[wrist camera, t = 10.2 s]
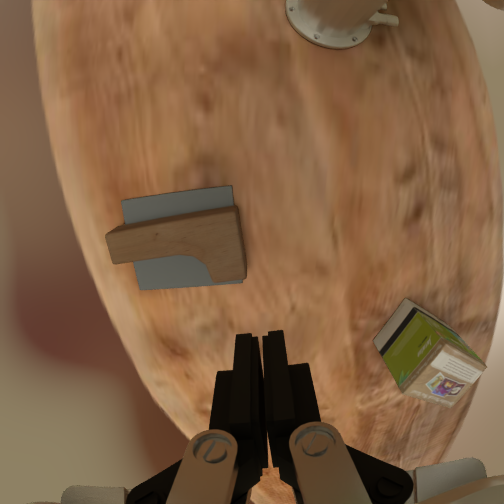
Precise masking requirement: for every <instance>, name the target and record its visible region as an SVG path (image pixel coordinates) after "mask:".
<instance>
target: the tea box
mask: <svg viewBox="0 0 504 504" xmlns="http://www.w3.org/2000/svg"><path fill="white" fill-rule="evenodd" d="M373 342H374V344H375V346H376V347H377V349H378V351H379V353H380V354H381V356H382V358H383V360H384V361H385V363H386V365H387V367H388V369H389V370H390V372H391V374H392V376H393V377H394V379H395V381H396V383H397V385H398V387H399V389H400V390H401V392H402V394H403V395H407V396H410V397H413V398H417V399H420V400H424V401H427V402H431V403H434V404H438V405H441V406H445V407H449V408H452V407H453V405H454V404H455V403H456V402H457V401H458V400H459V399H460V398H461V397H462V396H463V395H464V393H465V392H466V391H467V390H468V389H469V388H470V387H471V385H472V384H473V383H474V382H475V381H476V380H477V378H478V377H479V376H480V375H481V374H482V372H483V371H484V370H485V369H486V368H487V366H486V365H485V364H484V362H483V361H482V360H481V359H480V358H479V357H478V356H477V355H476V354H475V352H474V351H473V350H472V349H471V348H470V347H469V346H468V345H467V344H466V343H465V342H464V341H463V339H462V338H461V337H460V336H459V335H458V334H457V333H456V332H455V331H454V330H453V329H452V328H451V327H450V326H449V325H447V324H446V323H444V322H443V321H441V320H440V319H438V318H437V317H435V316H434V315H432V314H431V313H429V312H428V311H426V310H425V309H423V308H421V307H420V306H418V305H417V304H415V303H413V302H412V301H410V300H408V299H407V298H405V299H404V300H403V301H402V303H401V304H400V306H399V307H398V308H397V310H396V311H395V312H394V314H393V315H392V316H391V318H390V319H389V320H388V322H387V323H386V324H385V326H384V327H383V328H382V329H381V331H380V332H379V333H378V335H377V336H376V337H375V339H374V340H373Z"/></svg>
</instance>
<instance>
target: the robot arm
mask: <svg viewBox="0 0 504 504" xmlns="http://www.w3.org/2000/svg"><path fill="white" fill-rule="evenodd" d="M387 1H388V0H286V6H285V9H286V15H287V18H288V20H289V22H290V24H291V25H292V27H293V28H294V29H295V30H296V31H297V32H298V33H299V34H300V35H301V36H302V37H304V38H305V39H307V40H309V41H310V42H312V43H314V44H317V45H319V46H322V47H326V48H331V49H346V48H351V47H354V46H356V45H358V44H360V43H361V42H362V41H364V40H365V39H366V38H367V36H368V35H369V33H370V31H371V28H372V25H378V24H384V25H388V26H393V27H397V26H398V24H399V20H398V17H397V16H395V15H390V14H382V13H378V10H379V9H380V10H386V9H387V4H386V2H387ZM483 1H484V2H485V3H487V4H489V5H490V6H492V7H494V8H497V9H500V10H504V0H483ZM292 11H293V12H292ZM315 38H317V39H315ZM353 40H354V41H353ZM262 340H263V366H264V377H263V370H262V363H261V356H260V349H259V341H258V337H252V334H251V333H247V334H236V340H235V351H234V363H233V370H227V371H218V372H217V375H216V382H215V388H214V395H213V403H212V410H211V417H210V424H209V430H206V431H203V432H201V433H199V434H197V435H195V436H194V437H193V438H192V439H191V441H190V442H189V444H188V446H187V449H186V451H185V454H184V457H183V459H181V460H179V461H178V462H176V463H175V464H173V465H172V466H170V467H168V468H167V469H165V470H163V471H162V472H160V473H158V474H157V475H155V476H153V477H152V478H150V479H148V480H147V481H145V482H143V483H141V484H139V485H138V486H136V487H135V488H133V489H125V488H124V487H95V486H80V485H77V486H70V487H68V488H67V489H66V490H65V491H64V492H63V494H62V497H61V503H56V502H33V503H28V504H249V501H250V497H251V492H252V487H253V486H254V485H256V484H257V483H258V482H259V481H260V476H262V468H268V443H267V432H268V439H269V445H270V451H271V457H272V463H273V468H275V467H279V474H280V479H281V480H282V481H284V482H285V483H287V484H288V485H290V486H292V491H293V494H294V498H295V501H296V504H504V475H499V476H492V477H487V475H486V470H485V467H484V465H483V463H482V462H481V461H480V460H478V459H476V458H464V459H460V460H455V461H450V462H446V463H440V464H435V465H429V466H422V467H416V468H415V469H414V470H409V471H404V470H403V469H401V468H398V467H396V466H393V465H391V464H388V463H386V462H383V461H381V460H379V459H376V458H374V457H372V456H370V455H367V454H365V453H363V452H361V451H359V450H356V449H354V448H352V447H350V446H348V445H346V444H345V443H344V441H343V439H342V437H341V435H340V433H339V432H338V430H337V429H336V428H335V427H333V426H332V425H330V424H327V423H325V422H321V419H320V414H319V409H318V404H317V400H316V395H315V390H314V386H313V381H312V376H311V372H310V367H309V364H308V363H302V364H294V365H288V361H287V354H286V347H285V340H284V333H283V330H277V331H268V336H262Z"/></svg>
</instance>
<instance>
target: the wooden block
mask: <svg viewBox="0 0 504 504" xmlns="http://www.w3.org/2000/svg"><path fill="white" fill-rule="evenodd" d="M105 238H106V242H107V245H108V249H109V253H110V256H111V259H112V263H113V264H122V263H128V262H135V261H142V260H148V259H155V258H162V257H168V256H175V255H184V256H193V257H195V258H196V259H198V260H199V261H201V262H202V263H204V264H205V265H206V267H207V270H208V272H209V274H210V277H211V279H212V281H213V282H214V283H220V282H227V281H235V280H242V279H246V277H247V261H246V255H245V249H244V243H243V237H242V231H241V225H240V219H239V213H238V208H237V206H228V207H221V208H215V209H209V210H203V211H197V212H191V213H185V214H180V215H174V216H168V217H163V218H157V219H152V220H147V221H142V222H137V223H132V224H126V225H122V226H118V227H116V228H114V229H113V230H111V231H110V232H108V233H107V234H106V235H105Z"/></svg>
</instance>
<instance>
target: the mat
mask: <svg viewBox="0 0 504 504" xmlns="http://www.w3.org/2000/svg"><path fill="white" fill-rule="evenodd" d="M121 204H122V209H123V215H124V220H125V225H126V224H132V223H137V222H142V221H147V220H152V219H157V218H163V217H168V216H174V215H180V214H185V213H191V212H197V211H203V210H209V209H215V208H221V207H228V206H234V201H233V192H232V185H231V186H222V187H213V188H205V189H196V190H188V191H181V192H173V193H166V194H159V195H153V196H146V197H140V198H133V199H127V200H122V201H121ZM133 263H134V268H135V272H136V276H137V280H138V284H139V288H140V290H152V289H168V288H183V287H198V286H211V285H224V284H237V283H242V282H243V281H242V280H235V281H227V282H220V283H214V282H213V281H212V279H211V277H210V274H209V272H208V270H207V267H206V265H205V264H204V263H202V262H201V261H199V260H198V259H196V258H195V257H193V256H184V255H175V256H168V257H162V258H155V259H148V260H142V261H135V262H133Z"/></svg>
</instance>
